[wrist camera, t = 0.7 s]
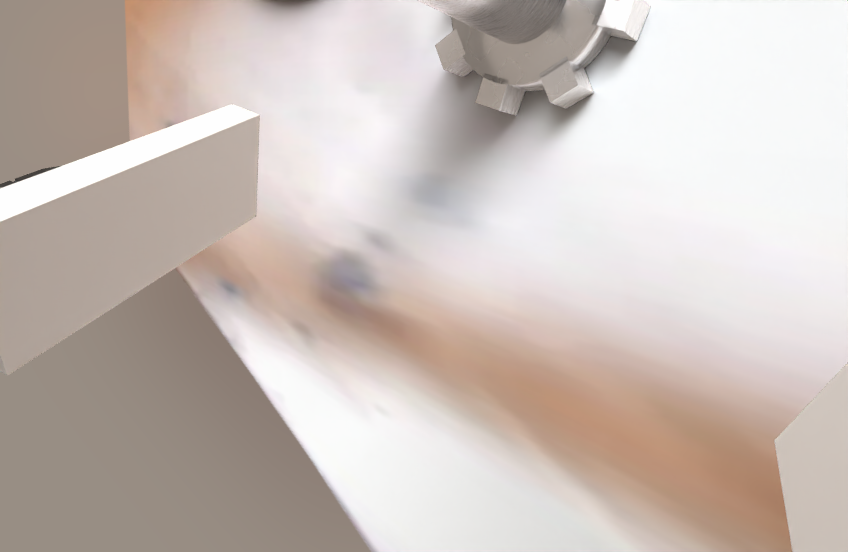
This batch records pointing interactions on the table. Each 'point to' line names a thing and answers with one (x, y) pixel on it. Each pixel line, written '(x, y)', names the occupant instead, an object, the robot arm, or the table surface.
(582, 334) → the table surface
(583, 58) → the sun gear
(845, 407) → the robot arm
